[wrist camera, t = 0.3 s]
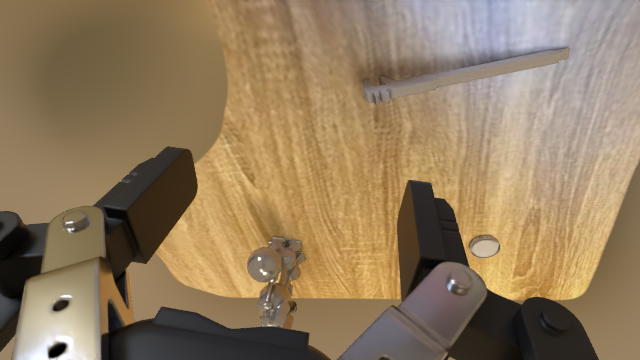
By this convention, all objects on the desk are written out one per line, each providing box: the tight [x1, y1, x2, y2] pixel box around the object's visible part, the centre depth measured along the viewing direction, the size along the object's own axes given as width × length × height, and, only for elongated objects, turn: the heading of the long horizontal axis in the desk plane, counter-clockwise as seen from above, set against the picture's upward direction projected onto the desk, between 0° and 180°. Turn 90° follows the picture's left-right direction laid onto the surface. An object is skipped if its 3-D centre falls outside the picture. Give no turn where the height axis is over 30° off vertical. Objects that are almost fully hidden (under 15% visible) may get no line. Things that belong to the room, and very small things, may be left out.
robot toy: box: [247, 237, 306, 329], centre depth 49 cm, size 15×6×15 cm, turn 9°
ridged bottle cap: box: [470, 236, 500, 258], centre depth 49 cm, size 4×4×1 cm
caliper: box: [363, 48, 570, 106], centre depth 33 cm, size 20×1×6 cm, turn 102°
